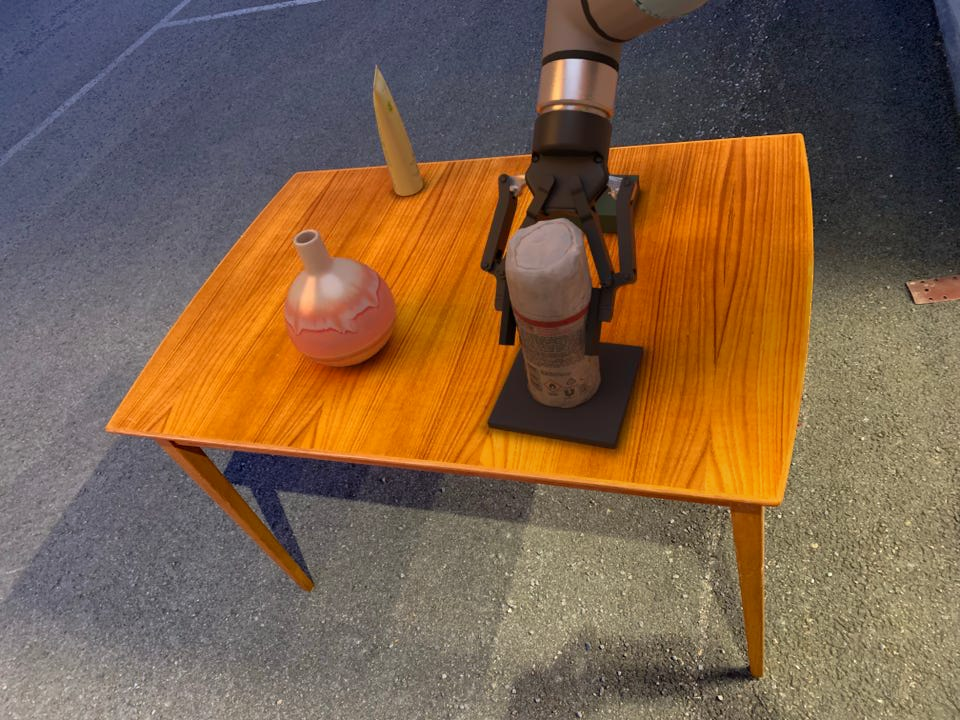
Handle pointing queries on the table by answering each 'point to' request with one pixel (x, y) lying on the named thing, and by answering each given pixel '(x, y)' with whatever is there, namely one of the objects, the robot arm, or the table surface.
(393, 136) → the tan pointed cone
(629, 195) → the robot arm
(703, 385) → the table surface
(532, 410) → the mat
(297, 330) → the vase
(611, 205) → the green rectangular block
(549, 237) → the spray can
